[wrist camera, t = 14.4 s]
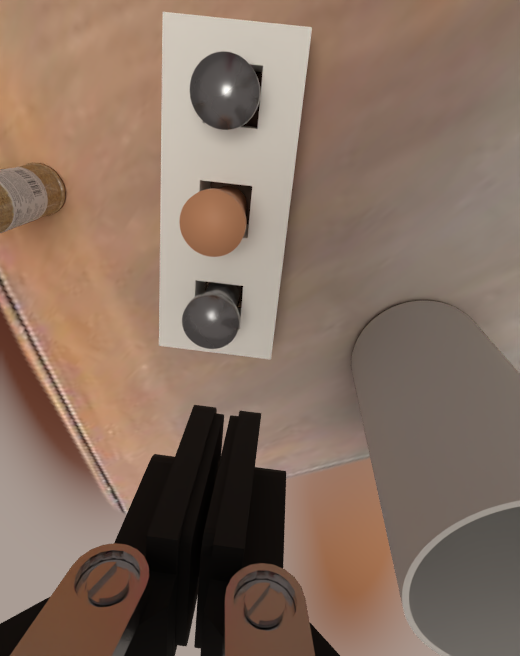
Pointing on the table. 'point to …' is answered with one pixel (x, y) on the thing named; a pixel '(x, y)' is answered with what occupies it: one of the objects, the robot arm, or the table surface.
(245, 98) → the grey plug
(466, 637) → the cylinder vase
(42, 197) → the sprinkles bottle
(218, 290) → the grey plug
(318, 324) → the table surface
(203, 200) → the rust plug
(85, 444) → the table surface
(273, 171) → the block
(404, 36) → the table surface
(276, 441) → the table surface
